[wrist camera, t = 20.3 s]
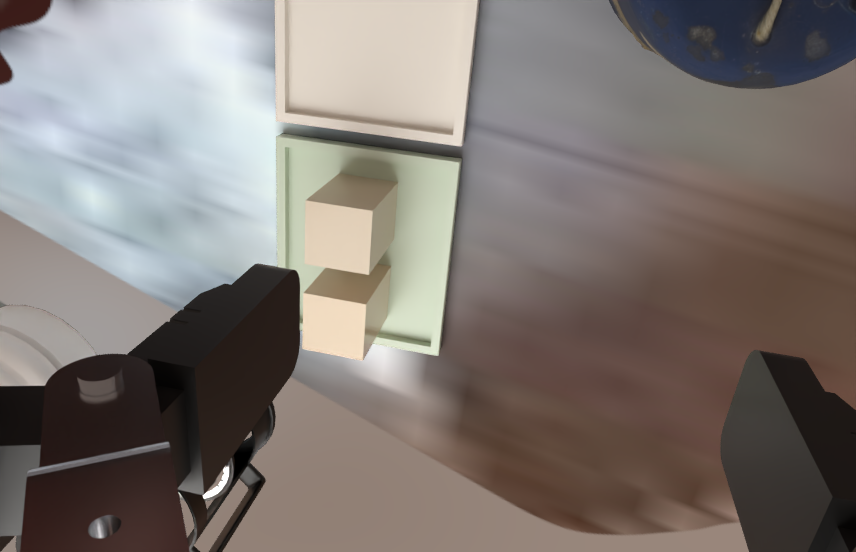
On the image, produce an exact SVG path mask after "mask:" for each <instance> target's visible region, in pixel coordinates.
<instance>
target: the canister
mask: <svg viewBox="0 0 856 552" xmlns="http://www.w3.org/2000/svg"><path fill="white" fill-rule="evenodd" d="M609 2H610V4H611V6H612V8H613V10H614V12H615V13H616V15H617V16H618V18H619V19H620V21H621V22H622V23H623V24H624V25H625V27H626V28H627V29H628V30H629V31H630V32H631V33H632V34H633V35H634V37H635V39H636V40H637V41H638V42H639V43H640V44H641V45H642V47H643V48H644V49H647V50H650V51H652V52H654V53H656V54H657V55H659V56H661V57H662V58H664V59H665V60H667V61H668V62H670V63H671V64H673V65H674V66H676V67H677V68H679V69H681V70H682V71H684V72H686V73H688V74H690V75H692V76H694V77H696V78H698V79H701V80H704V81H706V82H710V83H715V84H719V85H723V86H728V87H735V88H746V89H765V88H776V87H782V86H788V85H793V84H797V83H801V82H804V81H807V80H811V79H814V78H817V77H819V76H822V75H824V74H826V73H829V72H831V71H833V70H835V69H837V68H839V67H841V66H843V65H845V64H847V63H848V62H850V61H852V60H853V59H855V58H856V0H609Z"/></svg>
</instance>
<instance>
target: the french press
mask: <svg viewBox="0 0 856 552" xmlns="http://www.w3.org/2000/svg"><path fill="white" fill-rule="evenodd" d="M274 427H275V410H274V406H273V403H272V402H271V404H270V405H269V407H268V408H267V409H266V411H265V412H264V413H263V415H262V416H261V418H260V419H259V420H258V422H257V423H256V424H255V426H254V427H253V429H252V430H251V431H252V436H251V437H250V438H248V439H246V440H245V441H243V442H242V444H241V445H240V447H239V448H238V449H237V451H236V452H235V453H234V455H233V456H232V458H231V459H230V460H229V462H228V463H227V464H226V466H225V467H224V469H223V470H222V471H221V473H220V474H219V475H218V477H217V478H216V480H215V481H214V482H213V484H212V485H211V486H210V488H209V489H208V491H207V492H206V493H205V495H200V494H195V493H191V492H186V491H182V490H178V492H179V497H180V499H181V500H184V501H186V503H187V505H188V507H189V509H190V511H191V513H192V516H193V521H194V529H193V531H192V532H191V533H190V535H189V536H188V538H187V540H188V546H189V551H190V552H200V551H199V550H198V549H197V548H196V547H194V544H195V543H196V541H197V539H198V538H199V537H200V535H201V534H202V532H203V530H204V529H205V527H206V526H207V525H208V523H209V522H210V520H211V519H212V518H213V516H214V515H215V513H216V512H217V510H218V509H219V507H220V506H221V504H222V503H223V501H224V500H225V498H226V497H227V495H228V494H229V492H230V491H231V490H232V488H233V487H234V485H235V484H236V482H237V481H238V479H240V480H241V481H242V482H243V483H244V484H245V485H246V486H247V487H248V492H247V493H246V495H245V496H244V498H243V499H242V501H241V502H240V504H239V505H238V507H237V509H236V510H235V512H234V513H233V515H232V516H231V518H230V519H229V521H228V523H227V524H226V526H225V527H224V529H223V530H222V532H221V533H220V535H219V536H218V538H217V540H216V541H215V543H214V544H213V546H212V547H211V549H210V551H209V552H222V551H223V549H224V548H225V546H226V545H227V543H228V541H229V540H230V538H231V537H232V535H233V533H234V532H235V530H236V529H237V527H238V525H239V524H240V522H241V521H242V519H243V517H244V516H245V514H246V513H247V511H248V509H249V508H250V506H251V504H252V503H253V501H254V500H255V498H256V496H257V495H258V493H259V492H260V490H261V488H262V487H263V485H264V483H265V478H264V476H263V475H262V474H261V473H260V472H259V471H258V470H257V469H256V468H255V467H254V466H253V465H252V464H251V463H250V461H251V460H252V458H253V457H254V455H255V454H256V453H257V451H258V450H259V449H260V448H262V447H263V446H264V445H265V444H266V443H267V441H268V440H269V438H270V437H271V435H272V433H273V430H274ZM213 499H214V501H213V502H212V503H211V505H210V506H209V508H208V509H207V508H206V504H205V501H209V500H213ZM20 547H21V535H18V536H17V538H16V550H17V552H20Z"/></svg>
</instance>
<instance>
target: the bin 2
mask: <svg viewBox="0 0 856 552" xmlns="http://www.w3.org/2000/svg"><path fill="white" fill-rule="evenodd" d="M461 164H462V159H461V158H454V157H447V156H440V155H433V154H425V153H418V152H411V151H404V150H397V149H390V148H383V147H375V146H368V145H361V144H354V143H347V142H340V141H333V140H325V139H318V138H311V137H304V136H297V135H290V134H283V133H282V134H280V135H278V136H276V174H277V267H281V268H287V269H292V270H296V271H297V272H298V274H299V278H300V330H301V331H303V293H304V292H305V291H306V289H307V288H308V287H309V286H310V285H311V284H312V283H313V281H314V280H315V279H316V278H317V277H318V276H319V275H320V273H321V272H322V271H323V270H324V269H325V267H320V266H314V265H308V264H305V200H306V199H308V198H309V197H310V196H311V195H313V194H314V193H315V192H316V191H318V190H319V189H320V188H321V187H323V186H324V185H325V184H326V183H328V182H329V181H330V180H331V179H333V178H334V177H335V176H336V175H338V174H339V173H341V174H347V175H354V176H361V177H367V178H374V179H381V180H387V181H394V182H398V193H397V206H396V220H395V233H394V240H393V242H392V243H391V244H390V246H389V247H388V249H387V250H386V252H385V253H384V254H383V256H382V257H381V259H380V260H379V261H378V263H377V264H382V265H387V266H391V276H390V288H389V301H388V314H387V319H386V320H385V322H384V324H383V326H382V327H381V329H380V331H379V333H378V335H377V336H376V338H375V340H374V342H373V343H372V344H376V345H382V346H387V347H393V348H398V349H403V350H409V351H414V352H420V353H425V354H430V355H436V356H438V355H439V352H440V349H441V342H442V333H443V324H444V315H445V306H446V298H447V289H448V280H449V271H450V262H451V253H452V244H453V235H454V227H455V218H456V209H457V200H458V191H459V182H460V173H461Z"/></svg>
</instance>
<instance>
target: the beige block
mask: <svg viewBox="0 0 856 552" xmlns="http://www.w3.org/2000/svg"><path fill="white" fill-rule="evenodd" d="M397 193H398V182H394V181H387V180H381V179H374V178H367V177H361V176H354V175H347V174H341V173H339V174H338V175H336V176H335V177H334V178H333V179H331V180H330V181H329V182H328V183H326V184H325V185H324V186H323V187H321V188H320V189H319V190H318V191H316V192H315V193H314V194H313V195H311V196H310V197H309V198H308V199H306V200H305V264H308V265H314V266H320V267H325V268H331V269H337V270H343V271H349V272H355V273H360V274H366V275H369V274H370V273H371V271H372V270H373V269H374V267H375V266H376V264H377V263H378V261H379V260H380V259H381V257H382V256H383V254H384V253H385V252H386V250H387V249H388V247H389V246H390V244H391V243H392V242H393V240H394V233H395V220H396V206H397Z"/></svg>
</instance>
